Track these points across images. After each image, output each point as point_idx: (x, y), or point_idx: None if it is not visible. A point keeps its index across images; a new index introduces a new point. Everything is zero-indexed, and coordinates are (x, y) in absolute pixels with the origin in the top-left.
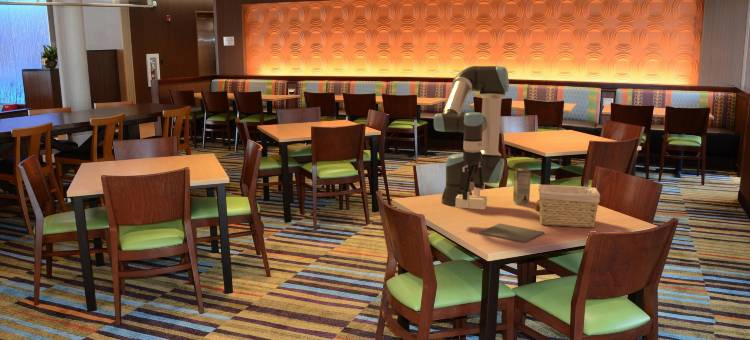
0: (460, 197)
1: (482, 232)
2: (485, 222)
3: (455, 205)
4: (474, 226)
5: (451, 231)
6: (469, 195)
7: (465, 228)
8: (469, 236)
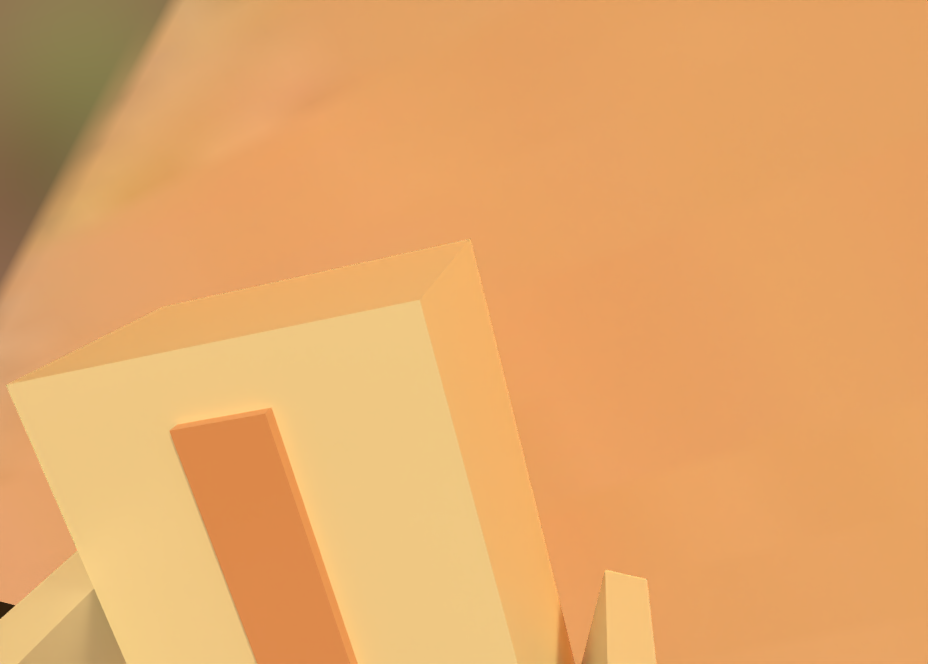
0: (119, 492)
1: None
2: (691, 537)
3: (142, 318)
4: None
5: (42, 302)
6: (482, 640)
7: None
8: (12, 544)
